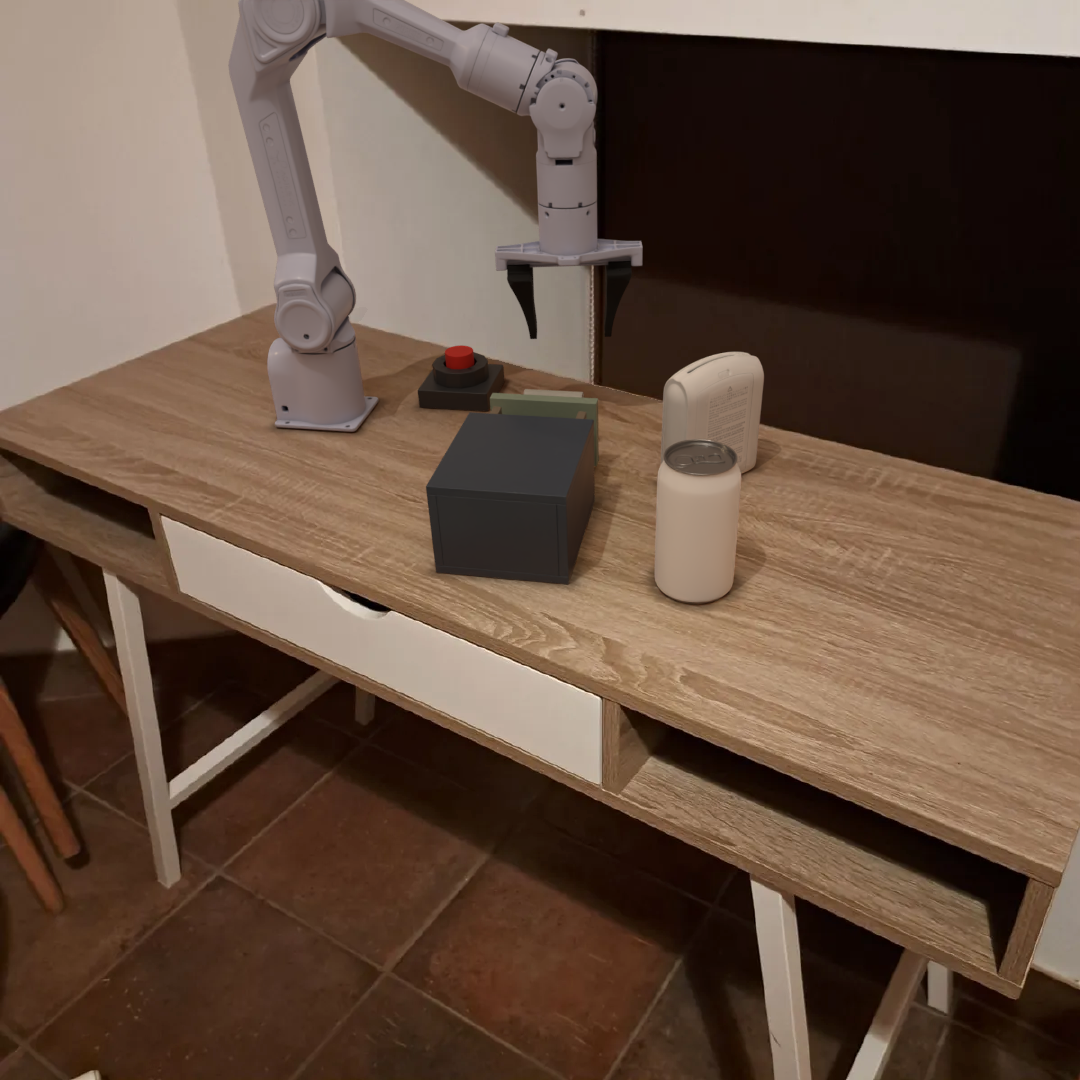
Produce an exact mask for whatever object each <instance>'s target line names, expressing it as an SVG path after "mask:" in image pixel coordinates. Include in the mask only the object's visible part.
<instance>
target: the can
mask: <svg viewBox="0 0 1080 1080" xmlns="http://www.w3.org/2000/svg"><path fill="white" fill-rule="evenodd" d="M737 459H738V458H737V454H736V452H735V451H734V450H733V449H732V448H731V447H729V446H727V445H725V444H723V443H720V442H717V441H713V440H706V439H691V440H684V441H680V442H677V443H675V444H673V445H671V446H669V447H668V448H667V449H666V450H665V452H664V461H663V462H662V464H661V463H660V465H659V467H658V471H657V477H656V502H655V503H656V506H655V535H654V536H655V540H654V581H655V584H656V586H657V587H658V589H659V590H660V591H661V592H662V593H663V594H664V595H665V596H667V597H668V598H669V599H671V600H674V601H675V602H680V603H684V604H687V605H688V604H690V605H702V604H703V605H704V604H709V603H713V602H715V601H717V600H720V599H721V598H723V597H725V595H727V594H728V592H730V591H731V589H732V587H733V583H734V577H735V565H736V555H737V543H738V531H739V518H740V505H741V504H740V503H741V493H742V492H741V491H742V488H741V487H742V474H741V472H740V469H739V467H738V464H737Z"/></svg>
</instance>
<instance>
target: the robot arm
mask: <svg viewBox="0 0 1080 1080" xmlns="http://www.w3.org/2000/svg"><path fill="white" fill-rule="evenodd" d="M237 5H238V13H239V17H238V21H237V25H236V30H235V33H234V38H233V43H232V47H231V50H230V54H229V59H228V71H229V72H228V73H229V78H230V83H231V85H232V89H233V93H234V97H235V100H236V104H237V109H238V112H239V115H240V119H241V123H242V128H243V131H244V135H245V139H246V143H247V146H248V150H249V154H250V157H251V162H252V165H253V169H254V173H255V176H256V180H257V185H258V188H259V191H260V196H261V198H262V199H261V200H262V203H263V207H264V211H265V214H266V218H267V221H268V222H267V223H268V226H269V229H270V234H271V237H272V241H273V245H274V249H275V253H276V257H277V260H276V266H275V274H274V278H273V289H274V292H275V293H274V294H275V298H276V306H275V310H274V315H273V319H274V320H273V322H274V326H275V330H276V331H277V334H278V335H279V337H277V338H276V339H273V341H272V343H271V344H270V347H269V349H268V352H267V363H266V367H267V376H268V381H269V385H270V391H271V397H272V400H273V401H272V402H273V405H274V410H275V416H276V419H275V422H274V426H275V427H276V428H284V429H285V428H286V429H300V430H316V431H332V432H348V433H353V432H356V431H357V430H358V429H359V428H360V426H361V425H362V424H363V423H364V421H365V420H366V419H367V417H368V416H369V415H370V413H372V411H373V409H374V408H375V407H376V406H377V404H378V403H379V397H377V396H366V395H365V389H364V384H363V377H362V370H361V364H360V357H359V350H358V343H357V337H356V331H355V328H354V327H353V325H352V323H351V321H350V315H351V314H352V313H353V311H354V309H355V307H356V304H357V293H356V288H355V286H354V283H353V282H352V280H351V279H350V277H349V275H348V274H346V272H345V271H344V269H343V267H342V264H341V261H340V257H339V254H338V252H337V251H336V250H335V249H334V247H332V246H331V245H330V244H329V242H328V238H327V234H326V229H325V226H324V221H323V217H322V212H321V209H320V203H319V200H318V196H317V190H316V188H315V183H314V179H313V175H312V170H311V166H310V162H309V158H308V157H309V156H308V152H307V149H306V145H305V140H304V136H303V132H302V127H301V123H300V119H299V115H298V110H297V107H296V101H295V98H294V93H293V90H292V84H291V78H292V76H293V75H294V74H295V72H296V70H297V69H298V67H299V66H300V65H301V64H302V62H303V60H304V58H305V57H306V56H307V54H308V52H309V50H310V49H312V48H313V47H314V46H315V45H317V43H319V42H320V41H322V40H324V39H325V38H326V39H333V38H338V37H345V36H350V35H356V34H363V33H365V34H369V35H372V36H374V37H376V38H379V39H381V40H383V41H387V42H389V43H391V44H393V45H395V46H398V47H401V48H403V49H405V50H408V51H410V52H412V53H416V55H417V54H418V55H420V56H422V57H425V58H428V59H430V60H432V61H434V62H437V63H439V64H442V65H444V66H447V67H449V69H450V70H451V73H452V74H453V76H454V79H455V82H456V84H457V86H458V87H459V88H460V89H461V90H463V91H466V92H468V93H470V94H472V95H474V96H477V97H479V98H481V99H483V100H486V101H488V102H490V103H493V104H494V105H497V106H499V107H500V108H503V109H505V110H507V111H509V112H512V113H514V114H516V115H518V116H520V117H526V116H529V117H530V118H531V121H532V123H533V125H534V126H535V128H536V132H537V133H536V134H537V150H536V153H535V160H536V161H535V162H536V163H535V164H536V186H537V213H538V214H537V216H538V237H539V240H536V241H529V242H523V243H515V244H507V245H496V246H495V250H494V258H495V271H497V272H500V271H506V280H507V283H508V285H509V287H510V289H511V292H513V294H514V296H515V298H516V300H517V301H518V304H519V306H520V308H521V310H522V313H523V316H524V318H525V322H526V325H527V328H528V329H527V330H528V334H529V339H530V340H537V339H538V319H537V312H536V305H535V290H534V289H535V288H534V268H554V267H555V268H556V267H557V268H558V267H584V266H604V273H605V274H604V278H605V279H604V281H605V301H604V312H603V332H604V335H603V336H604V338H610V337H612V333H613V327H614V322H615V317H616V314H617V311H618V308H619V305H620V302H621V300H622V298H623V296H624V294H625V291H626V289H627V288H628V286H629V284H630V281H631V279H632V275H633V273H632V272H633V271H632V267H643V242H642V240H618V239H605V238H598V165H597V162H598V161H597V160H598V156H597V155H598V154H597V149H596V147H595V144H596V129H595V125H594V124H595V123H594V119H595V115H596V111H597V103H598V87H597V83H596V81H595V78H594V76H593V75H592V73H591V72H590V71H589V69H587V68H586V67H585V66H583V65H582V64H580V63H579V62H578V61H577V60H576V59H575V58H570V57H568V58H560V59H557V58H558V55H559V53H558V52H557V51H556V50H553V49H552V48H547V50H546V51H542V50H540V49H538V48H535V47H533V46H532V45H530V44H527V43H525V42H523V41H521V40H518V39H517V38H514V37H513V36H511V35H509V31H510V27H509V26H507V25H505V24H503V23H501V22H499V21H497V22H495V23H494V24H493V26H489V25H488V24H485V23H479V24H476V25H474V26H472V27H470V28H468V29H467V30H465V29H464V30H463V29H460V28H459V27H457V26H455V25H452V24H451V23H449V22H447V21H445V20H443V19H441V18H440V17H437V16H435V15H434V14H432V13H430V12H428V11H426V10H424V9H422V8H420V7H418V6H417V5H415V4H413V3H411V2H410V1H407V0H238V2H237Z"/></svg>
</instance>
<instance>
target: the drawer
mask: <svg viewBox="0 0 1080 1080" xmlns="http://www.w3.org/2000/svg"><path fill="white" fill-rule="evenodd" d="M489 409H490V412H489V414H507V415H524V416H541V417H559V418H576V419H593V420H594V467H598V464H599V461H600V457H599V456H600V452H599V450H600V448H599V447H600V445H599V443H600V441H599V398H596V397H585V393H584V391H574V390H573V391H571V390H555V389H554V390H553V389H552V390H551V389H536V388H534V389H533V388H525V389H524V390H523V394H521V393H505V392H503V393H502V392H498V393H492V395H491V397H490V408H489Z"/></svg>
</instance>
